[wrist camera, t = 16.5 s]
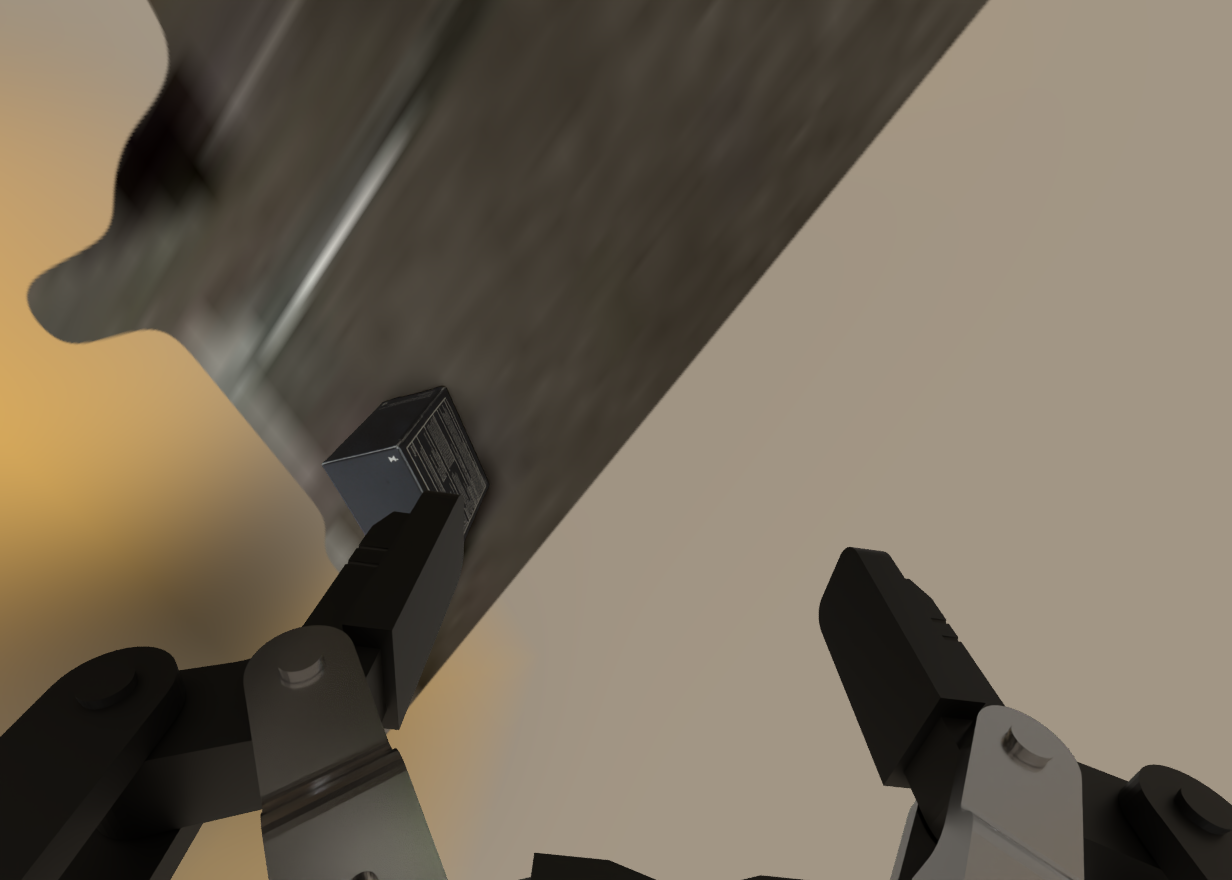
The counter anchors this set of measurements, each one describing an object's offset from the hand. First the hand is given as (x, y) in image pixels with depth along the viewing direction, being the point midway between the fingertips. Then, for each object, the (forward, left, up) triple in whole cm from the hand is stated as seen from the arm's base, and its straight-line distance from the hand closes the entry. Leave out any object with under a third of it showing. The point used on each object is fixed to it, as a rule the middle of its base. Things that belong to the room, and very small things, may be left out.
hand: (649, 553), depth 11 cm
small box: (+8, -22, -33) cm, 41 cm away
